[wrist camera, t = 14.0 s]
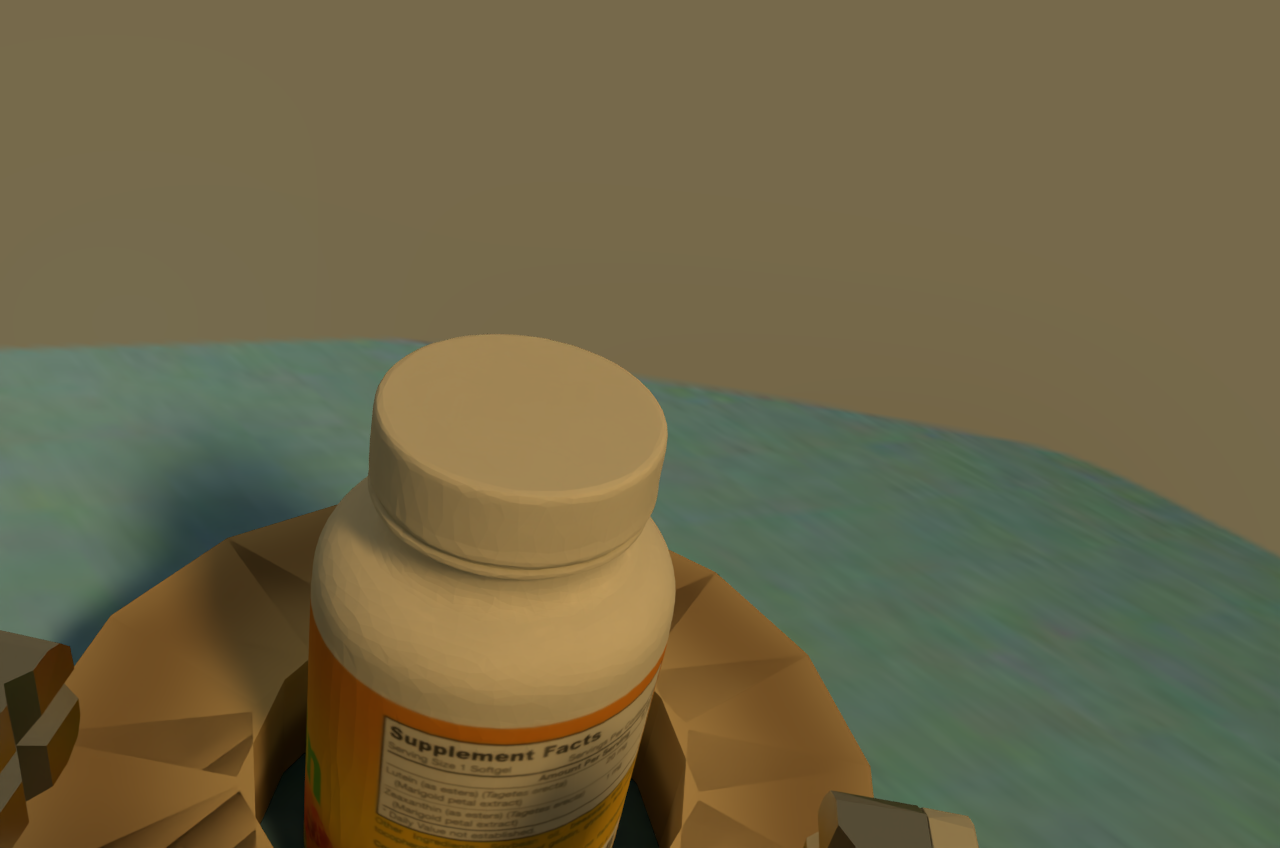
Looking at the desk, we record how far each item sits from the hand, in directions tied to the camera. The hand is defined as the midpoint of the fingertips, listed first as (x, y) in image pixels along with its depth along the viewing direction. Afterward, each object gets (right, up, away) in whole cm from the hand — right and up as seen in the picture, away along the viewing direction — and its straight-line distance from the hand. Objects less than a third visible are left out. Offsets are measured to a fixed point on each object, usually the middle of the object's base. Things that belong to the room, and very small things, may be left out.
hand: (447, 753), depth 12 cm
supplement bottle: (-1, -4, +8) cm, 10 cm away
